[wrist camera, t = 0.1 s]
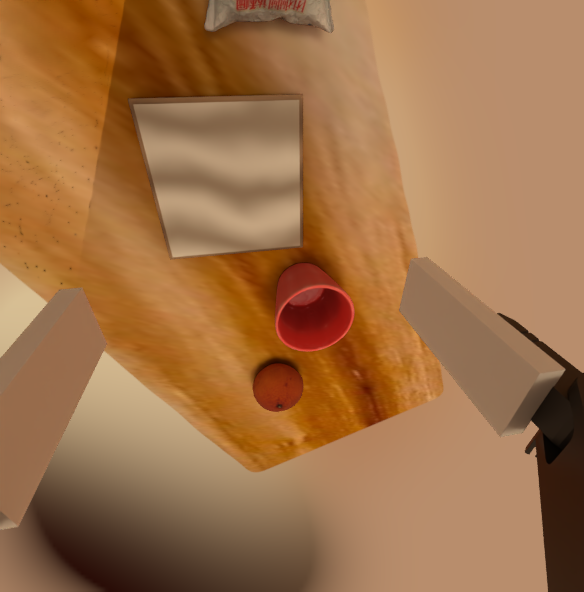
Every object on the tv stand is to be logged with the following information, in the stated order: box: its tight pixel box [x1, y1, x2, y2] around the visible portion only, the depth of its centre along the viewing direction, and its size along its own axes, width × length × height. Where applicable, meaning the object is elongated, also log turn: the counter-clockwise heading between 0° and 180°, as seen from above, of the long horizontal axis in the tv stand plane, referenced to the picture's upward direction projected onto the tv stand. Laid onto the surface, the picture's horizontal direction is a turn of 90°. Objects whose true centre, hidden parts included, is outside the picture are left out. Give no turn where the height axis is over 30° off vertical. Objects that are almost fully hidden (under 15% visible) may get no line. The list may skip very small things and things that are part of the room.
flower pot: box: [275, 263, 354, 351], centre depth 44 cm, size 11×11×10 cm
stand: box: [128, 94, 303, 260], centre depth 38 cm, size 18×18×2 cm
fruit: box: [253, 363, 303, 412], centre depth 55 cm, size 9×9×8 cm
